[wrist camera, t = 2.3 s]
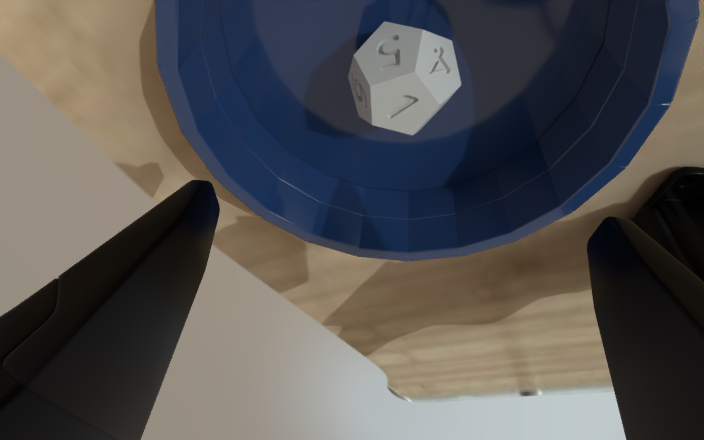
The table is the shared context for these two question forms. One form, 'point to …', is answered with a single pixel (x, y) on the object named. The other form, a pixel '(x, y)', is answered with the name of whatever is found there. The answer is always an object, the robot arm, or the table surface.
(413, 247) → the blue bowl
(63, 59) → the table surface
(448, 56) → the game die
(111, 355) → the robot arm
